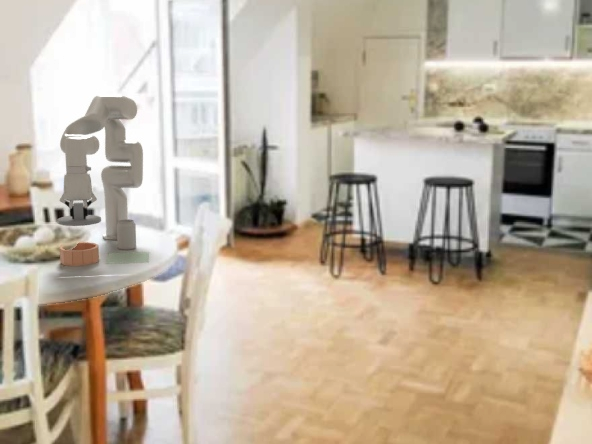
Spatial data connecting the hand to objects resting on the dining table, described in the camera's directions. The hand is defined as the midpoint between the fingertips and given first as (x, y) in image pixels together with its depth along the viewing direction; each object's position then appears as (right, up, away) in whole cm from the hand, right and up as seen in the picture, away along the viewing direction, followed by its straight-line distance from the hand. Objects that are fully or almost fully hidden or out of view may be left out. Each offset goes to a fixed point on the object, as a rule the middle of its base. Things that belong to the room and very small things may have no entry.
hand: (79, 217), depth 277 cm
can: (+13, -13, +24) cm, 30 cm away
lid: (0, -1, 0) cm, 1 cm away
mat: (+17, -16, +9) cm, 25 cm away
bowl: (-1, -17, +3) cm, 17 cm away
